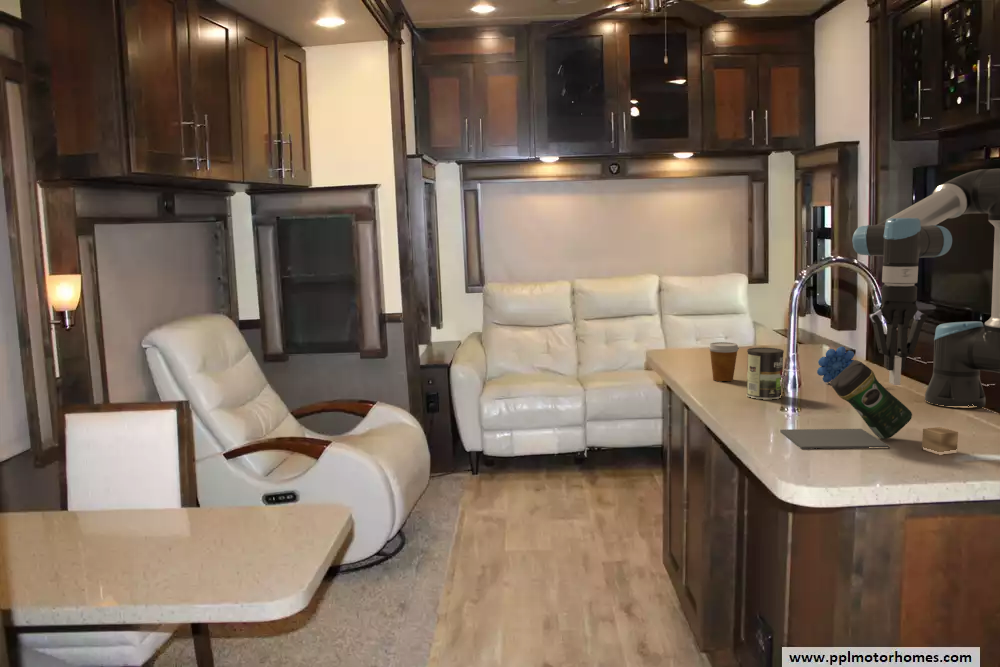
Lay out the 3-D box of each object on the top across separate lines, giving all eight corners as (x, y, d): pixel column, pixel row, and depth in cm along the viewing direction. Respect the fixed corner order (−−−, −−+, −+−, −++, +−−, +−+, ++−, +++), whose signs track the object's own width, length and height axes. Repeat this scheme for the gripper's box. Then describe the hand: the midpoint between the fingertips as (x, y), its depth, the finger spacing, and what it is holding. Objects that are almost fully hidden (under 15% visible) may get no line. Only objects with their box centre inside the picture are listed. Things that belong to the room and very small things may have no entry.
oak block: (939, 448, 197) (940, 426, 196) (956, 453, 192) (958, 432, 192) (921, 450, 195) (923, 428, 195) (939, 455, 191) (940, 434, 190)
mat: (861, 431, 213) (861, 428, 213) (888, 448, 197) (889, 445, 197) (780, 431, 213) (780, 429, 213) (801, 449, 197) (801, 446, 197)
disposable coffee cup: (744, 380, 280) (745, 344, 278) (725, 384, 274) (726, 347, 272) (720, 376, 287) (721, 341, 286) (702, 380, 281) (702, 343, 280)
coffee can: (787, 395, 256) (788, 348, 254) (775, 401, 247) (776, 353, 246) (753, 391, 262) (754, 346, 260) (740, 397, 254) (741, 350, 252)
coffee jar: (903, 409, 208) (853, 354, 206) (918, 416, 200) (866, 359, 198) (872, 435, 209) (822, 381, 207) (886, 444, 201) (834, 387, 199)
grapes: (852, 381, 275) (854, 344, 273) (857, 385, 268) (858, 347, 267) (814, 380, 277) (815, 344, 276) (817, 384, 271) (819, 347, 269)
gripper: (878, 286, 196) (873, 387, 199) (935, 285, 196) (929, 386, 199) (864, 283, 204) (860, 381, 207) (920, 282, 203) (914, 380, 206)
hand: (894, 383), depth 203 cm, fingers closed
